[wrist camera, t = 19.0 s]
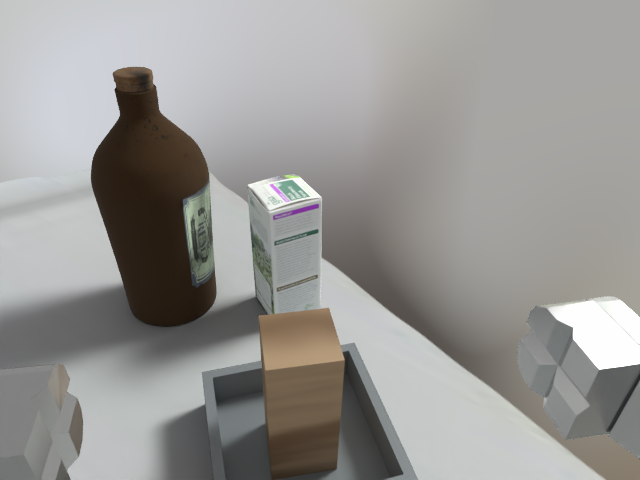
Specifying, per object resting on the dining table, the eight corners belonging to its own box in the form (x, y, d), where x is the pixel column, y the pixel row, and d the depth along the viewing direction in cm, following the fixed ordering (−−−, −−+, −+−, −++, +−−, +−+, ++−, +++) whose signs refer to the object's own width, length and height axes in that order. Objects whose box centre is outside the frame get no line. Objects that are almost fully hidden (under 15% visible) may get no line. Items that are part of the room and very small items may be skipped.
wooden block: (336, 469, 38) (344, 360, 31) (271, 480, 37) (265, 370, 30) (324, 414, 42) (328, 307, 35) (265, 423, 41) (258, 315, 34)
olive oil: (108, 329, 51) (37, 87, 37) (143, 267, 60) (96, 54, 46) (210, 334, 51) (177, 92, 37) (230, 271, 60) (209, 58, 46)
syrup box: (322, 311, 54) (326, 195, 46) (273, 328, 52) (268, 209, 44) (299, 282, 58) (299, 170, 50) (252, 297, 56) (244, 182, 48)
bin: (206, 403, 44) (201, 372, 41) (351, 372, 47) (354, 342, 45) (225, 566, 33) (219, 536, 31) (411, 512, 36) (419, 482, 34)
